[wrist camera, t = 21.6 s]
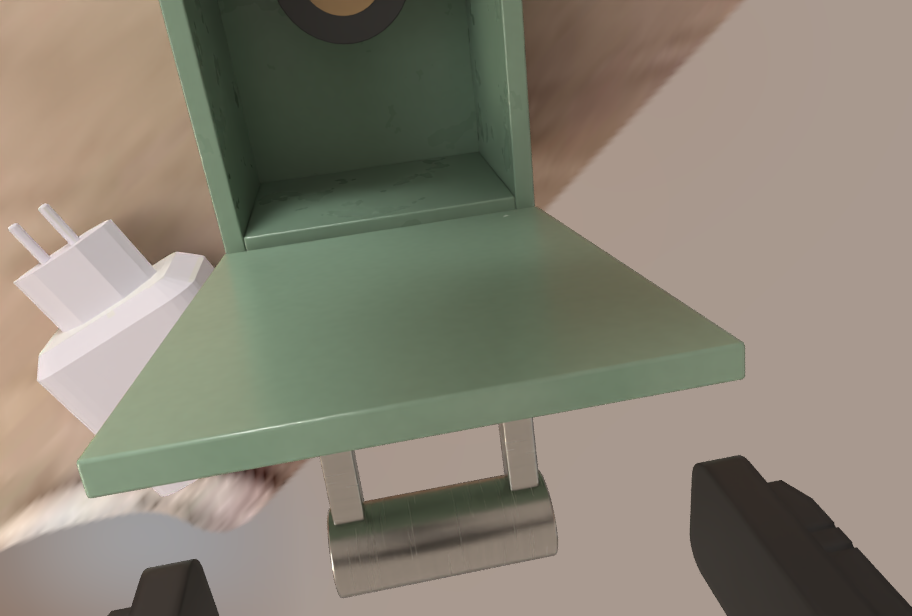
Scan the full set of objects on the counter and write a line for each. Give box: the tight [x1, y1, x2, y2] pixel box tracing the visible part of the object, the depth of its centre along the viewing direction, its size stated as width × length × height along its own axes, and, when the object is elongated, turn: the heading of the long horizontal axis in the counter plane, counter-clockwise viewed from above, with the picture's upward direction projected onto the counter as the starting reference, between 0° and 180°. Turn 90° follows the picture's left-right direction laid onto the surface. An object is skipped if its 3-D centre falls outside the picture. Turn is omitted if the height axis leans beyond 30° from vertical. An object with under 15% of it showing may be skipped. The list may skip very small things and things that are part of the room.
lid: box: [77, 207, 745, 598], centre depth 22 cm, size 16×13×5 cm
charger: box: [9, 203, 215, 497], centre depth 36 cm, size 5×9×15 cm
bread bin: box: [159, 0, 535, 254], centre depth 30 cm, size 16×13×9 cm
